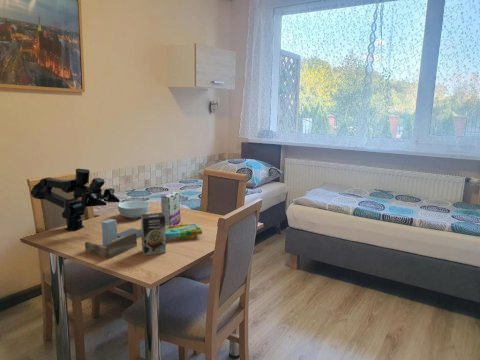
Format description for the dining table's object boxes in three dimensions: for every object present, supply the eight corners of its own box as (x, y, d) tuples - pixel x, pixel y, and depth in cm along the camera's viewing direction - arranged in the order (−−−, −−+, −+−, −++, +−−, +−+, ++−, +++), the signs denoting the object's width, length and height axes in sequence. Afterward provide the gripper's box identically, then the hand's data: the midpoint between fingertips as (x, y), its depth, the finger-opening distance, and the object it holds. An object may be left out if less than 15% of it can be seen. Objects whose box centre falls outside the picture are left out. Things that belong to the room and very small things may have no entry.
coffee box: (144, 256, 146) (142, 218, 142) (141, 250, 152) (140, 214, 148) (166, 252, 149) (165, 216, 146) (163, 247, 155) (162, 211, 152)
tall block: (103, 245, 156) (101, 221, 154) (112, 242, 160) (110, 218, 158) (108, 247, 154) (107, 223, 152) (117, 243, 159) (116, 220, 156)
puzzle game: (156, 225, 170) (197, 221, 176) (156, 234, 171) (197, 230, 177) (158, 233, 159) (202, 229, 165) (158, 243, 160) (202, 239, 166)
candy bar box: (172, 220, 191) (171, 191, 188) (180, 222, 189) (180, 192, 186) (161, 227, 180) (160, 196, 177) (170, 228, 179) (169, 197, 176)
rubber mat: (114, 236, 168) (114, 234, 167) (131, 229, 177) (131, 228, 177) (132, 240, 163) (132, 239, 162) (148, 233, 172) (148, 231, 172)
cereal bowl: (145, 221, 190) (144, 208, 188) (114, 220, 190) (113, 208, 188) (153, 212, 206) (152, 200, 205) (124, 211, 206) (124, 199, 205)
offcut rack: (85, 251, 149) (84, 238, 148) (113, 240, 162) (112, 227, 161) (109, 258, 143) (108, 244, 142) (136, 246, 156) (136, 233, 155)
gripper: (74, 178, 159) (101, 188, 154) (102, 174, 177) (128, 183, 172) (70, 201, 161) (97, 212, 157) (99, 195, 179) (124, 205, 174)
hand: (112, 202), depth 165 cm, fingers open, 9 cm apart
